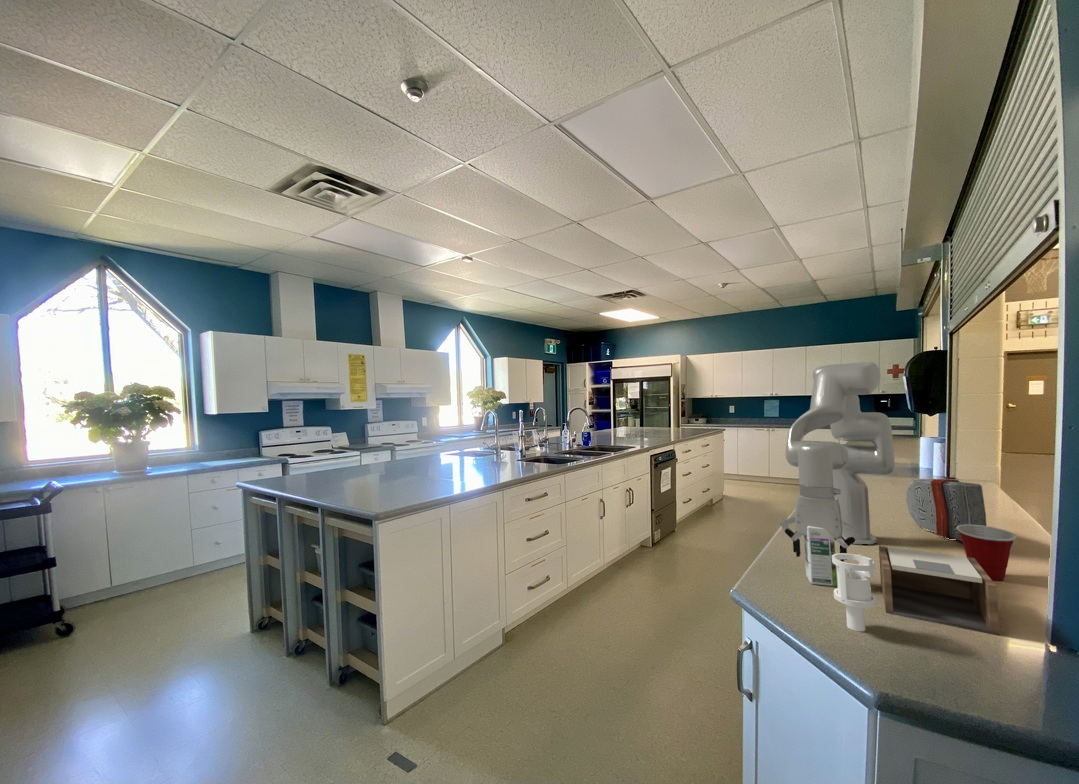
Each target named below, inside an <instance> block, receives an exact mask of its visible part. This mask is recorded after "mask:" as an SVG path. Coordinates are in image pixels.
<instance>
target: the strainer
mask: <svg viewBox="0 0 1079 784" xmlns="http://www.w3.org/2000/svg"><path fill="white" fill-rule="evenodd" d="M840 559H847V561H857V562H858V564H857V563H850V562H845V561H844V562H842V561H840ZM832 563H833V564H835V565H836V576H837V588H834V589H833V598H834V600H836V601H838V602H839V603H841V604H844V605H845V613H846V615H845V616H846V627H847V628H848V629H850V630H852V631H854V632H861V633H862V632H865V631H866V617H865V616H866V614H865V609H872V608H873V609H874V608H875V607H877V598H876V596H874V595H873V594H872V588H871V587H872V586H871V579H870V578H873V577H874V570H875V561H874V560H873V558H872V557H871V558H870V557H867V556H864V555H863V554H854V553H847V554H846V553H840V552H838V553H835V554H833V555H832Z"/></svg>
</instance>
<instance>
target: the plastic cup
mask: <svg viewBox="0 0 1079 784" xmlns="http://www.w3.org/2000/svg"><path fill="white" fill-rule="evenodd" d="M956 529H957V530H958V531H959V533H960V536H961V539H962V541H961V542H962V545H963V549H964V553H965V557H969V558H975V560H976V561H977V562H978V563H979V565H980V566H981V567H982V569H983V570H984V571H985V572H986V574H987V575H988V576H989V577H990V579H991V580H992V581H993V582H1001V581H1002V582H1003V581H1004V580H1005V578H1006V573H1007V568H1008V565H1009V561H1010V560H1009V558H1010V554H1011V548H1012V546H1013V543H1014V541H1016V539H1017V535H1016V534H1014V533H1013V532H1011V531H1008V530H1006V529H1002V528H998V527H994V526H993V527H992V526H989V525H987V526H982V525H959V526H957V527H956Z"/></svg>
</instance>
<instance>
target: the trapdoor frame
mask: <svg viewBox="0 0 1079 784" xmlns="http://www.w3.org/2000/svg"><path fill="white" fill-rule="evenodd" d="M887 547H888V546H885V545H878V555H879V556H878V558H879V571H880V572H879V574H880V585H881V591H882V597H883V602H884V608H885V613H886V614H892V615H896V616H902V617H905V618H911V619H916V620H920V621H925V622H926V621H927V622H931V623H935V624H942V625H946V626H951V627H956V628H959V629H960V628H961V629H966V630H970V631H975V632H976V631H977V632H980V633H986V634H991V635H995V636H1000V622H999V607H998V606H999V605H998V603H999V602H998V594H997V593H998V591H997V585H996V584H995V581H992V580H991V579H990V577H989V576H988V575H987V574H986V572H985V571H984V570H983V569H982V567H981V566H980V565H979V563H978V562H977V561H976V560H975V558H969V557H967V556H966V557H967V559H968V560H969V561H970V563H971V564H972V565H973V567H974V568H975V569H976V571H977V572H978V574H979V575H980V576H981V578H982V583H978V582H971V581H965V580H958V579H952V578H945V577H939V576H932V575H926V574H919V573H913V572H906V571H900V570H894V569H892V566H891V562H890V558H889V554H888V549H887Z"/></svg>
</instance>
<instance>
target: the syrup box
mask: <svg viewBox="0 0 1079 784" xmlns="http://www.w3.org/2000/svg"><path fill="white" fill-rule="evenodd" d="M803 541H804V556H805V558H804V559H805V560H804V561H805V574H806V575H805V577H806V578H807V577H808V578H807V579H808V581H809V583H810V582H811V583H810V584H811V585H818V586H819V585H821V586H829V587H834V588H835V587H837V588H838V583H837V565H835V564H833V563H832V555H833V554H836V547H835V546H836V545H835V544H836V543H835V539H834V538H833V537H832V536H831V535H830V534H829V533H828V532H827V530H826V529H823V528H818V527H812V526H808V527H807V535H803Z"/></svg>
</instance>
